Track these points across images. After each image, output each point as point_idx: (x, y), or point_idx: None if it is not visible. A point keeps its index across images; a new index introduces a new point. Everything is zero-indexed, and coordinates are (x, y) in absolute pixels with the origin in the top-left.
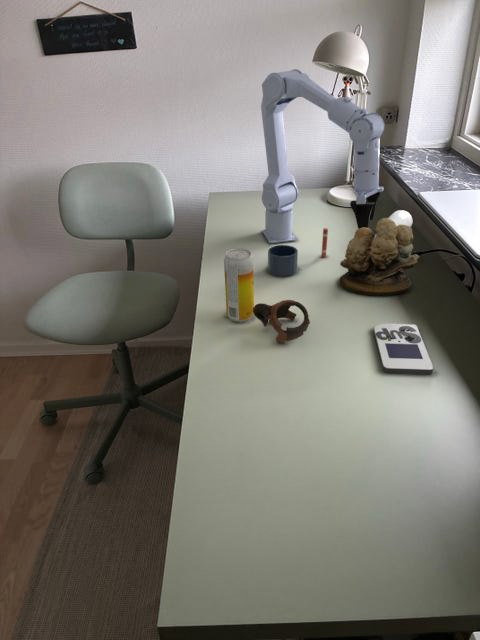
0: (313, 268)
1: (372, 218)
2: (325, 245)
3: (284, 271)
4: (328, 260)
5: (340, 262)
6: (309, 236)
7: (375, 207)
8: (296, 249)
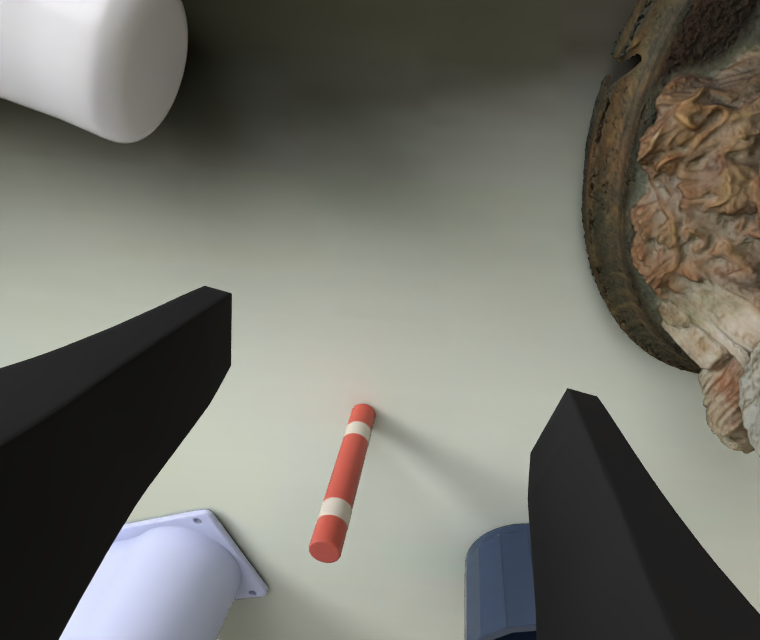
0: (507, 461)
1: (221, 304)
2: (361, 461)
3: None
4: (405, 394)
5: (747, 452)
6: None
7: (87, 350)
8: (525, 627)
